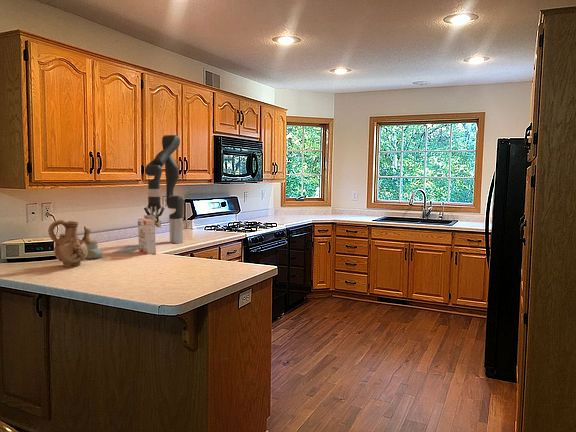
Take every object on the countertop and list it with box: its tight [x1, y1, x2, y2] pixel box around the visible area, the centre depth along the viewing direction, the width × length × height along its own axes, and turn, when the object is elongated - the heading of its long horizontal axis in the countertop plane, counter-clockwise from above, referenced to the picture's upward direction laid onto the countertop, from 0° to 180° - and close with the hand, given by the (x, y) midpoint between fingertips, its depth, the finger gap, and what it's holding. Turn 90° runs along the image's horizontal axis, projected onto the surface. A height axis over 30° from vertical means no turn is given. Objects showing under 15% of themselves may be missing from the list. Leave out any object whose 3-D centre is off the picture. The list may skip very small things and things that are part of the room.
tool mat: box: [111, 245, 139, 254], centre depth 301 cm, size 28×12×1 cm, turn 178°
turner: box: [143, 214, 162, 228], centre depth 303 cm, size 22×6×4 cm, turn 177°
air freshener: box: [85, 240, 104, 260], centre depth 273 cm, size 11×8×10 cm
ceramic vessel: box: [47, 219, 95, 268], centre depth 251 cm, size 18×19×25 cm
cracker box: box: [137, 218, 157, 255], centre depth 290 cm, size 14×6×21 cm, turn 37°
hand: (154, 222), depth 305 cm, fingers closed on turner, 2 cm apart
